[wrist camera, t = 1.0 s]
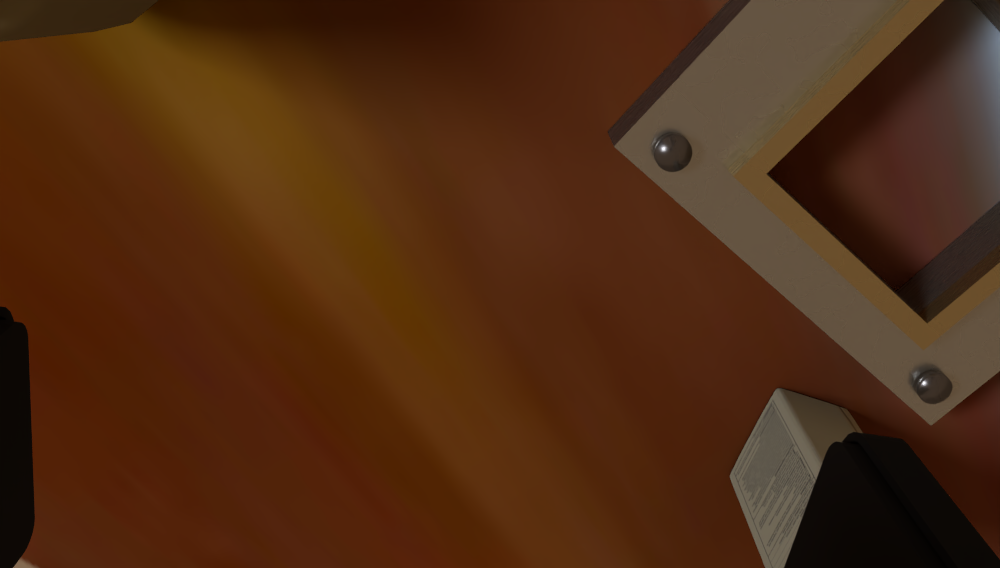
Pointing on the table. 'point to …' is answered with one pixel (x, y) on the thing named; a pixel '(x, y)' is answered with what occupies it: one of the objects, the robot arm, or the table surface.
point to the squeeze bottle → (65, 16)
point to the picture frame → (782, 218)
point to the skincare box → (785, 467)
